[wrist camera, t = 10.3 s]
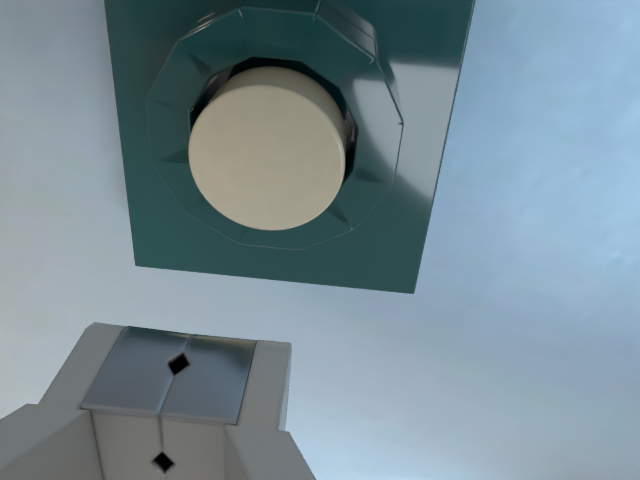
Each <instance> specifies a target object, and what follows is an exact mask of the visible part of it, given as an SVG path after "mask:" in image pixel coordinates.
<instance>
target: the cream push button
mask: <svg viewBox="0 0 640 480" xmlns="http://www.w3.org/2000/svg"><path fill="white" fill-rule="evenodd" d="M346 141H347V136H346V127H345V123H344V119H343V116H342V114H341V111H340V109H339V107H338V106H337V104H336V102H335V101H334V99H333V98H332V97H331V95H330V94H329V93H328V92H327V91H326V90H325V89H324V88H323V87H322V86H321V85H320V84H318V83H317V82H316V81H315V80H313V79H311V78H310V77H308V76H306V75H304V74H302V73H300V72H298V71H295V70H291V69H288V68H282V67H272V66H266V67H257V68H253V69H248V70H246V71H243V72H241V73H238V74H237V75H235V76H233V77H231V78H230V79H228V80H227V81H226V82H225V83H223V84H222V85H221V86H220V88H219V89H218V90H217V91H216V92H215V94H214V95H213V96H212V98H211V99H210V101H209V102H208V104H207V105H206V107H205V108H204V109H203V111H202V112H201V114H200V115H199V117H198V118H197V120H196V122H195V124H194V126H193V129H192V132H191V135H190V139H189V146H188V157H189V165H190V168H191V172H192V175H193V178H194V180H195V183H196V185H197V186H198V188H199V190H200V192H201V193H202V194H203V196H204V197H205V199H206V200H207V201H208V202H209V203H210V204H211V205H212V206H213V207H214V208H215V209H216V210H217V211H219V212H220V213H221V214H223V215H224V216H226V217H227V218H229V219H231V220H233V221H235V222H237V223H239V224H242V225H244V226H247V227H251V228H255V229H261V230H284V229H289V228H294V227H297V226H300V225H302V224H305V223H307V222H309V221H311V220H312V219H314V218H315V217H317V216H318V215H320V214H321V213H322V212H323V211H325V209H326V208H327V207H328V206H329V205H330V204H331V203H332V201H333V200H334V199H335V197H336V195H337V193H338V191H339V190H340V187H341V184H342V181H343V178H344V172H345V159H346Z"/></svg>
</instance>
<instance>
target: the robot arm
mask: <svg viewBox="0 0 640 480" xmlns="http://www.w3.org/2000/svg"><path fill="white" fill-rule="evenodd" d="M291 355H292V345H291V343H287V342H276V341H264V340H249V339H239V338H228V337H218V336H208V335H197V334H187V333H179V332H171V331H164V330H156V329H148V328H140V327H133V326H127V327H126V326H119V325H111V324H104V323H97V322H94V323H93V324H91V325H90V326H89V327H87V328H86V329H85V331H84V332H83V334H82V336H81V337H80V339H79V340H78V342H77V343H76V345H75V347H74V348H73V350H72V351H71V353H70V355H69V356H68V358H67V359H66V361H65V362H64V364H63V366H62V367H61V369H60V370H59V372H58V374H57V375H56V377H55V378H54V380H53V381H52V383H51V385H50V386H49V388H48V389H47V391H46V393H45V394H44V396H43V397H42V399H41V400H40V402H39V404H38V405H37V404H26V405H24V406H22V407H21V408H19V409H17V410H16V411H14V412H12V413H11V414H9V415H7V416H6V417H4V418H2V419H1V420H0V480H316V479H315V477H314V475H313V473H312V472H311V470H310V468H309V466H308V465H307V463H306V461H305V459H304V457H303V456H302V454H301V452H300V450H299V449H298V447H297V445H296V443H295V442H294V440H293V438H292V436H291V435H290V433H289V432H287V431H285V426H286V416H287V405H288V393H289V381H290V368H291Z"/></svg>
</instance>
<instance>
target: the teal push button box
mask: <svg viewBox="0 0 640 480" xmlns="http://www.w3.org/2000/svg"><path fill="white" fill-rule="evenodd" d="M475 1H476V0H104V2H105V11H106V19H107V28H108V37H109V45H110V54H111V62H112V71H113V79H114V88H115V96H116V105H117V113H118V122H119V131H120V139H121V148H122V156H123V165H124V173H125V182H126V190H127V199H128V207H129V216H130V225H131V233H132V242H133V250H134V259H135V265H136V266H140V267H150V268H160V269H170V270H180V271H189V272H199V273H209V274H219V275H229V276H239V277H249V278H259V279H269V280H279V281H289V282H299V283H309V284H319V285H329V286H339V287H349V288H359V289H369V290H379V291H389V292H399V293H409V294H414V292H415V287H416V283H417V278H418V273H419V268H420V264H421V259H422V254H423V249H424V244H425V240H426V235H427V230H428V225H429V220H430V216H431V211H432V206H433V201H434V197H435V192H436V187H437V182H438V177H439V173H440V168H441V163H442V158H443V154H444V149H445V144H446V139H447V134H448V130H449V125H450V120H451V115H452V111H453V106H454V101H455V96H456V91H457V87H458V82H459V77H460V72H461V68H462V63H463V58H464V53H465V48H466V44H467V39H468V34H469V29H470V25H471V20H472V15H473V10H474V5H475ZM266 66H272V67H282V68H288V69H291V70H295V71H298V72H300V73H302V74H304V75H306V76H308V77H310V78H311V79H313V80H315V81H316V82H317V83H318V84H320V85H321V86H322V87H323V88H324V89H325V90H326V91H327V92H328V93H329V94H330V95H331V97H332V98H333V99H334V101H335V102H336V104H337V106H338V107H339V109H340V111H341V114H342V116H343V119H344V123H345V127H346V136H347V141H346V159H345V172H344V178H343V181H342V184H341V187H340V190H339V191H338V193H337V195H336V197H335V199H334V200H333V201H332V203H331V204H330V205H329V206H328V207H327V208H326V209H325V211H323V212H322V213H321V214H320V215H318V216H317V217H315V218H314V219H312V220H311V221H309V222H307V223H305V224H302V225H300V226H297V227H294V228H289V229H284V230H261V229H255V228H251V227H247V226H244V225H242V224H239V223H237V222H235V221H233V220H231V219H229V218H227V217H226V216H224V215H223V214H221V213H220V212H219V211H217V210H216V209H215V208H214V207H213V206H212V205H211V204H210V203H209V202H208V201H207V200H206V199H205V197H204V196H203V194H202V193H201V192H200V190H199V188H198V186H197V185H196V183H195V180H194V178H193V175H192V172H191V168H190V165H189V157H188V146H189V139H190V135H191V132H192V129H193V126H194V124H195V122H196V120H197V118H198V117H199V115H200V114H201V112H202V111H203V109H204V108H205V107H206V105H207V104H208V102H209V101H210V99H211V98H212V96H213V95H214V94H215V92H216V91H217V90H218V89H219V88H220V86H221V85H222V84H223V83H225V82H226V81H227V80H228V79H230V78H231V77H233V76H235V75H237V74H238V73H241V72H243V71H246V70H248V69H253V68H257V67H266Z"/></svg>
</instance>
